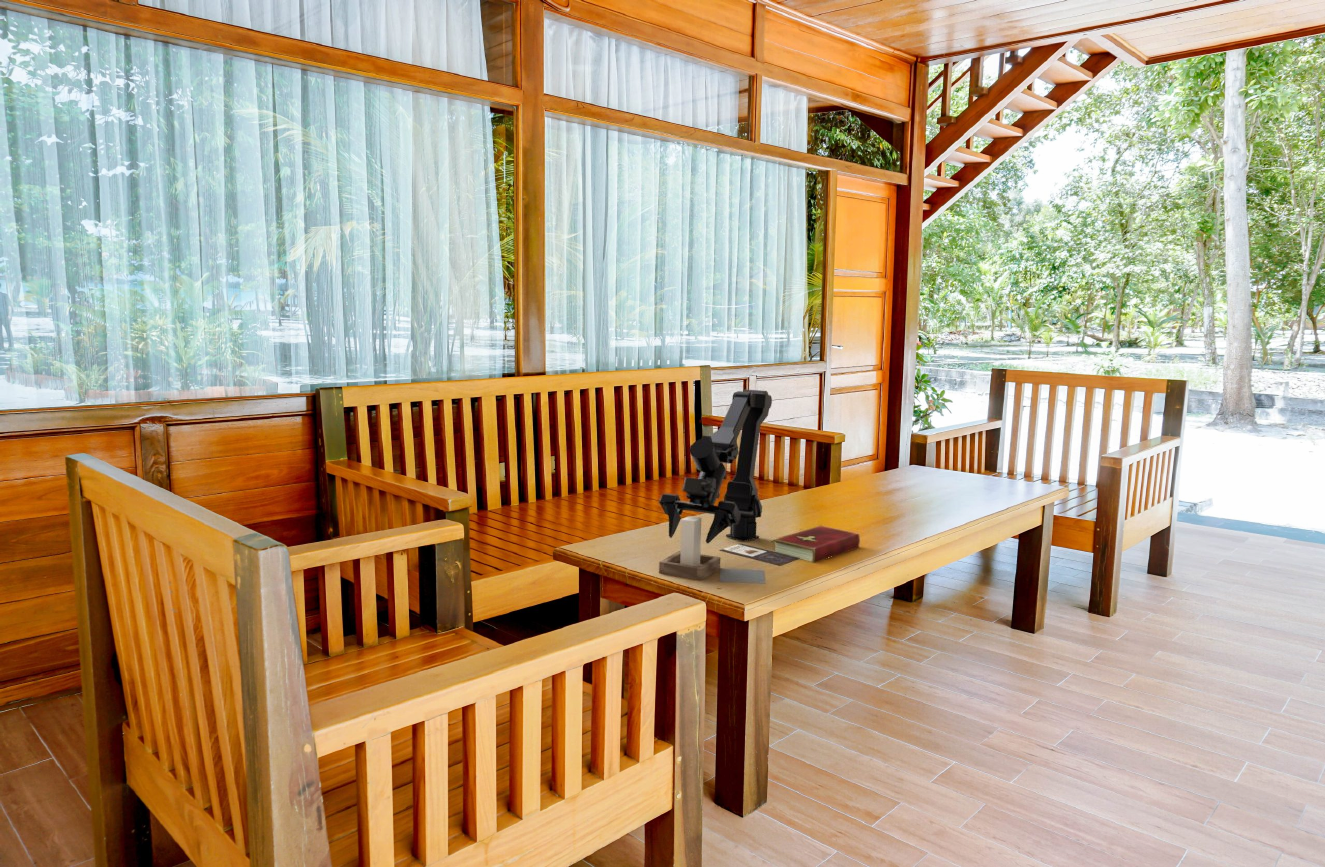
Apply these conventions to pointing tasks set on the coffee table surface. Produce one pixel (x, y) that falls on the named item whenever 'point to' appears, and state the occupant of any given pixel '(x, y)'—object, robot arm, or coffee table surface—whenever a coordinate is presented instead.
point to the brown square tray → (689, 566)
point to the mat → (742, 575)
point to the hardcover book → (817, 543)
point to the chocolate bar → (760, 554)
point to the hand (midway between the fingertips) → (688, 539)
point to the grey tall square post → (690, 541)
